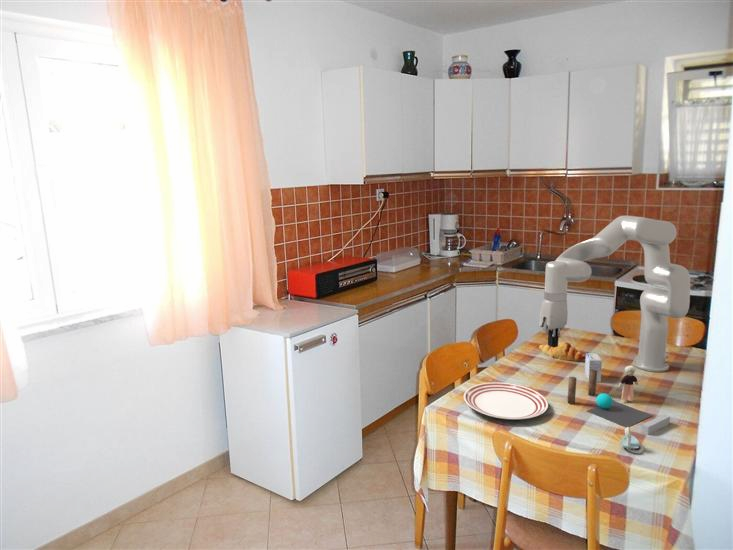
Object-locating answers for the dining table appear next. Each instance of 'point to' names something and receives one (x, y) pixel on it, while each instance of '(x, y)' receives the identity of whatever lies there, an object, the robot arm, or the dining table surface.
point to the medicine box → (593, 365)
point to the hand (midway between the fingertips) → (552, 346)
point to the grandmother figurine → (628, 385)
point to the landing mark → (620, 414)
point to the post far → (571, 390)
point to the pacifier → (631, 442)
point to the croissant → (563, 352)
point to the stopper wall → (655, 424)
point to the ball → (604, 401)
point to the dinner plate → (505, 400)
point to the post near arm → (592, 382)
